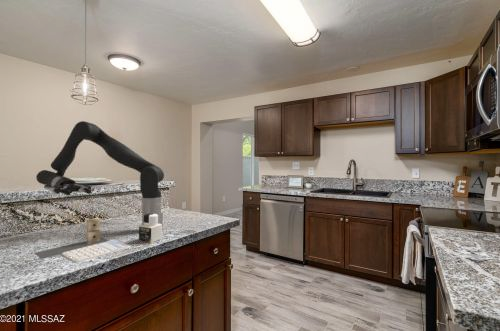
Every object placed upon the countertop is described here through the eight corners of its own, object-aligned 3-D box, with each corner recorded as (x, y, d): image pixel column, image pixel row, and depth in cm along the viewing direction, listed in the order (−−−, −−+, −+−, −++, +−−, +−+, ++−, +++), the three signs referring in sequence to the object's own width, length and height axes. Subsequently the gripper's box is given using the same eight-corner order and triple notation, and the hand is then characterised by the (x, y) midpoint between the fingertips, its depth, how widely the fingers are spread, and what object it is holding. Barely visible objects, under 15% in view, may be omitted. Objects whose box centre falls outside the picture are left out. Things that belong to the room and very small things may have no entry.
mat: (100, 238, 113) (100, 237, 113) (111, 242, 108) (111, 241, 108) (33, 254, 93) (33, 253, 93) (42, 260, 88) (42, 258, 88)
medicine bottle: (138, 241, 110) (138, 214, 110) (150, 237, 117) (150, 211, 117) (150, 243, 107) (151, 216, 107) (162, 239, 114) (162, 213, 114)
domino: (97, 240, 109) (97, 217, 109) (99, 241, 108) (100, 218, 108) (86, 242, 106) (86, 219, 105) (88, 243, 104) (88, 220, 104)
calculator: (60, 257, 93) (60, 252, 93) (114, 243, 109) (114, 238, 109) (75, 265, 85) (75, 260, 85) (131, 249, 102) (131, 244, 102)
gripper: (47, 177, 115) (62, 184, 106) (80, 177, 127) (97, 183, 119) (45, 193, 115) (60, 201, 107) (79, 191, 127) (95, 199, 119)
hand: (80, 192), depth 113 cm, fingers open, 8 cm apart
